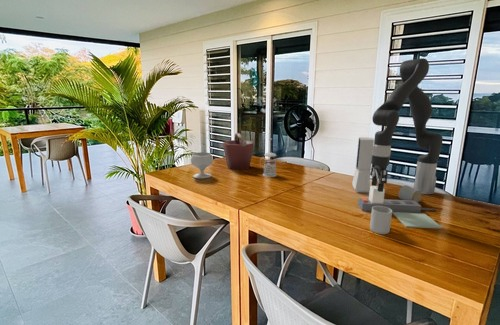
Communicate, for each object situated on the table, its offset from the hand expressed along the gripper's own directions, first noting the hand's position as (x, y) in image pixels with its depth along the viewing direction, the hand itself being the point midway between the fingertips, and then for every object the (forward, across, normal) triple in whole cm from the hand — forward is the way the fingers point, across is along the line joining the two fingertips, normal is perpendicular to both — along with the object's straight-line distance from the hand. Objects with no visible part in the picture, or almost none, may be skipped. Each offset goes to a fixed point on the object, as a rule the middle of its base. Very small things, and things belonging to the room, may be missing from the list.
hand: (376, 188), depth 132 cm
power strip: (+10, 0, -10) cm, 14 cm away
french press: (+10, +53, +52) cm, 75 cm away
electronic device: (+10, +28, -1) cm, 30 cm away
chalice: (+11, +44, +95) cm, 105 cm away
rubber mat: (+10, -12, -13) cm, 20 cm away
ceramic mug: (+10, +13, -22) cm, 27 cm away
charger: (+8, 0, 0) cm, 8 cm away
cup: (+10, -22, +5) cm, 25 cm away
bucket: (+10, +72, +75) cm, 104 cm away
